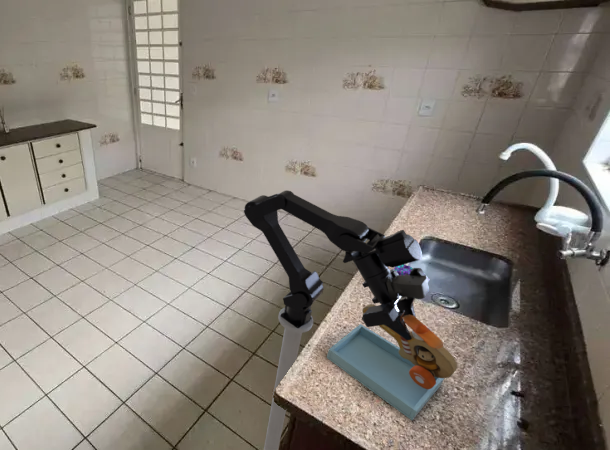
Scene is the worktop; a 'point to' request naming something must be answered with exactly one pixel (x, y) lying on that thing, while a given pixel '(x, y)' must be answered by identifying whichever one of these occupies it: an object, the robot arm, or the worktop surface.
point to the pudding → (403, 269)
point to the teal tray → (381, 370)
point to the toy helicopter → (423, 352)
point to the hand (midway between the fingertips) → (412, 334)
